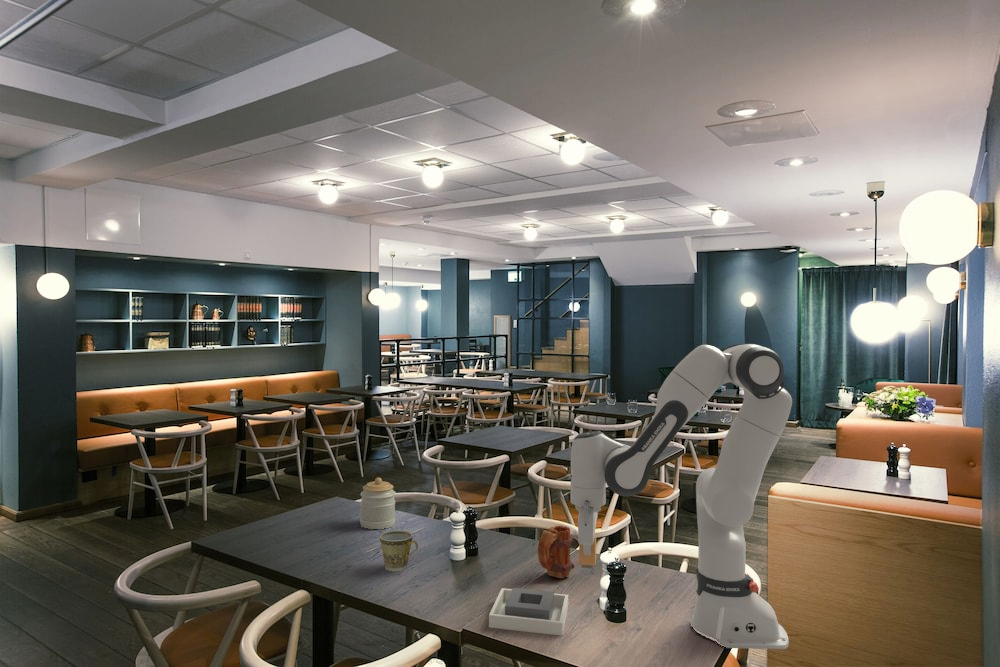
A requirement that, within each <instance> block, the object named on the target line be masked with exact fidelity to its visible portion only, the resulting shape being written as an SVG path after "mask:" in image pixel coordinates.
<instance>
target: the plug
mask: <svg viewBox="0 0 1000 667" xmlns="http://www.w3.org/2000/svg"><path fill="white" fill-rule="evenodd" d="M578 544H579V543H578ZM578 549H579V550H578V558H579V559H578V563H579V566H580V565H581V569H592V570H593V569H594V566H596V563H597V532H595V535H594V542H593V544H592V545H591V555H584V551H583V544H579V545H578Z"/></svg>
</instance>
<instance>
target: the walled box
mask: <svg viewBox="0 0 1000 667" xmlns="http://www.w3.org/2000/svg"><path fill="white" fill-rule="evenodd" d="M512 589H513V588H505V587H504V588H503V587H502V588H500V591H499V593H498V596H497V597H496V600H495V601H494V604H493V606H492V607H491V610H490V612H489V614H488V628H493V629H500V630H501V629H502V630H509V631H516V632H517V631H519V632H527V633H536V634H545V635H552V636H553V635H554V636H561V637H562V636H563V635H564V631H565V630H564V629H565V625H566V621H567V619H566V618H567V614H568V609H569V594H564V593H563V594H562V593H554V611H553V615H552V619H551V620H545V619H536V618H527V617H517V616H508V615H505V605H506V603H507V600H508V598H509V596H510V593H511V591H512Z"/></svg>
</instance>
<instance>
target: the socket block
mask: <svg viewBox="0 0 1000 667" xmlns="http://www.w3.org/2000/svg"><path fill="white" fill-rule="evenodd" d="M511 589H512V591H511V593H510V596H509V598H508V600H507V603H506V605H505V615H508V616H517V617H527V618H536V619H545V620H551V619H552V615H553V611H554V594H555V591H549V590H538V589H529V588H520V587H519V588H518V587H512V588H511Z"/></svg>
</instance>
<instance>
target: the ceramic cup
mask: <svg viewBox="0 0 1000 667" xmlns="http://www.w3.org/2000/svg"><path fill="white" fill-rule="evenodd" d="M379 540H380V541H379V542H380V547H381V550H382V556H383V564H384V568H385V571H387V570H388V572H391V571H392V572H393V573H394V572H395V573H396V572H403V571H405V570H407V567H408V561H409V557H410V556H411V555H412V554H413V553H415V552H416V551H417V550H418V548H419V545H418V543H417V541H416V540H413V533H412V532H410V531H408V530H403V529H402V530H400V529H397V530H396V529H395V530H388V531H385V532H383V533H381V534H380V535H379ZM412 544H414V545H415V549H414V550H413V551H411V549H412V548H411V547H412ZM410 551H411V552H410ZM392 572H391V573H392Z"/></svg>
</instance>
